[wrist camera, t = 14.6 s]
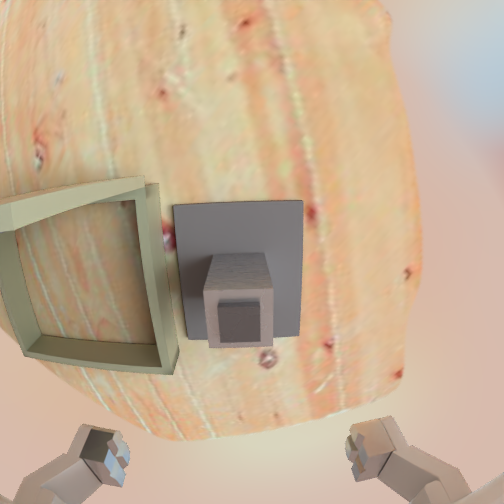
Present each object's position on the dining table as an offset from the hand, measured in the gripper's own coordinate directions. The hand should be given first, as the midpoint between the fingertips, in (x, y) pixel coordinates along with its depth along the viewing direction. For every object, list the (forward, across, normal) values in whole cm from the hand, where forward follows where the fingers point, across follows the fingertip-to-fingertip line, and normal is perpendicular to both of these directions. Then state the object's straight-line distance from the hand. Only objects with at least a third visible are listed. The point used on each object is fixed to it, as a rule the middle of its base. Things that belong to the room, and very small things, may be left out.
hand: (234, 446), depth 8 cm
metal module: (+16, 0, 0) cm, 16 cm away
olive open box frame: (+17, +14, 0) cm, 22 cm away
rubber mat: (+17, 0, 0) cm, 17 cm away
